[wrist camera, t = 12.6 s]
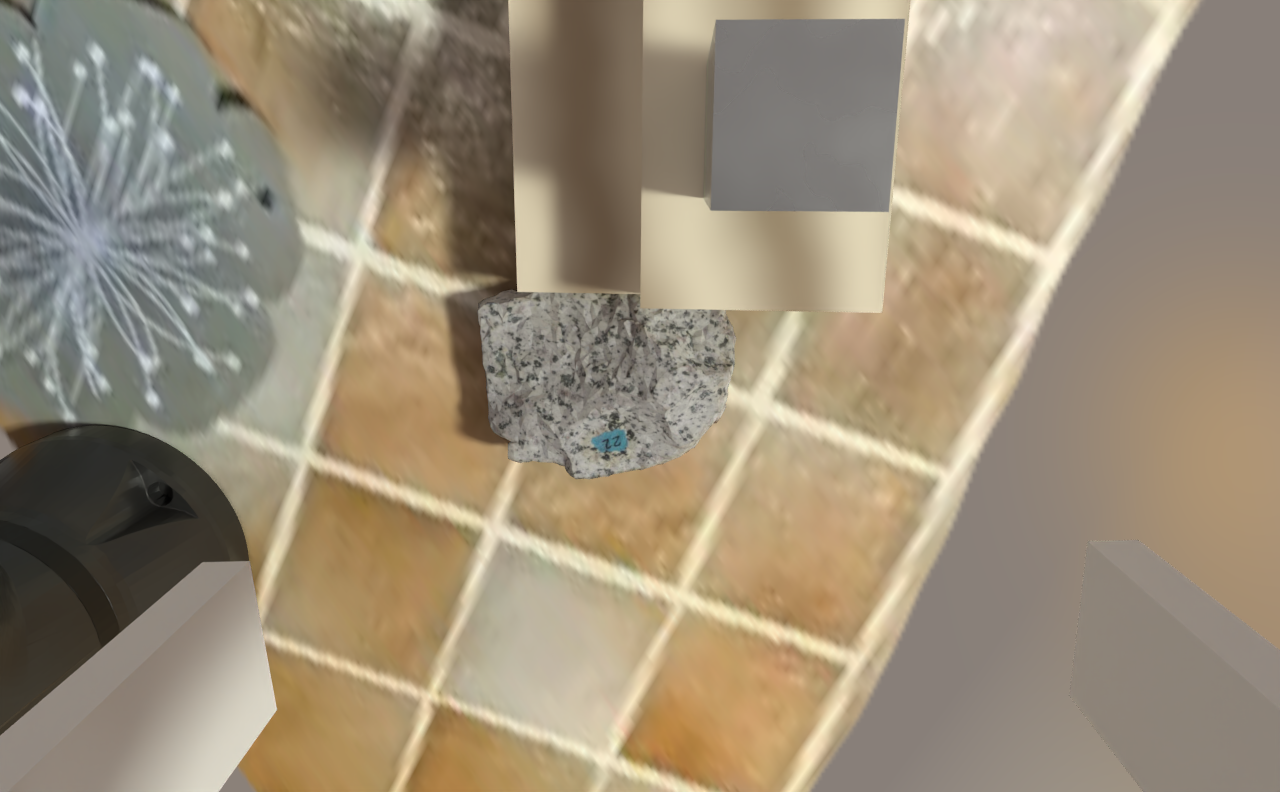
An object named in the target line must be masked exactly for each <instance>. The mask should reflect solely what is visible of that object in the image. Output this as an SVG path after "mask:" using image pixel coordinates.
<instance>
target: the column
mask: <svg viewBox="0 0 1280 792" xmlns="http://www.w3.org/2000/svg"><path fill="white" fill-rule="evenodd" d="M904 26H905V19H754V20H716V21H715V26H714V31H713V36H712V41H711V46H710V50H709V55H708V60H707V65H706V105H705V146H704V187H703V199H704V200H705V202H706V204H707V205H708V207H709V209H710V210H711V211H825V212H889V203H890V191H891V180H892V168H893V156H894V144H895V132H896V121H897V109H898V97H899V85H900V73H901V61H902V50H903V38H904Z"/></svg>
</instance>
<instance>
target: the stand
mask: <svg viewBox="0 0 1280 792" xmlns="http://www.w3.org/2000/svg"><path fill="white" fill-rule="evenodd" d="M508 10H509V42H510V74H511V106H512V138H513V170H514V202H515V234H516V266H517V292H550V293H608V294H640V308H649V309H704V310H759V311H814V312H868V313H882V309H883V298H884V286H885V275H886V264H887V253H888V242H889V231H890V220H891V209H892V198H893V187H894V176H895V165H896V154H897V143H898V132H899V120H900V109H901V98H902V87H903V76H904V65H905V54H906V43H907V32H908V21H909V10H910V0H508ZM754 19H905V26H904V38H903V50H902V61H901V73H900V85H899V97H898V109H897V121H896V132H895V144H894V156H893V168H892V180H891V191H890V203H889V212H825V211H711V210H710V209H709V207H708V205H707V204H706V202H705V200H704V199H703V187H704V146H705V105H706V65H707V60H708V55H709V50H710V46H711V41H712V36H713V31H714V26H715V21H716V20H754Z"/></svg>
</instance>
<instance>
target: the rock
mask: <svg viewBox="0 0 1280 792" xmlns="http://www.w3.org/2000/svg"><path fill="white" fill-rule="evenodd" d="M478 306H479V309H478V321H479V325H480V327H481V330H480V334H481V340H482V353H483V366H484V369H485V374H486V389H487V396H488V408H489V416H488V419H489V422H490V426H491V428H492V430H493V432H494V433H496V434H497V435H499V436H501V437H503V438H505V439H507V440H509V441H511V442H510V443H508V459H510V460H512V461H516V462H519V463H522V462H530V461H537V462H553V463H557V464H559V465H561V466H565V469H566V471H567V472H568V473H569V474H570V475H571V476H572V477H574V478H575V479H593V478H598V477H607V476H610V475H612V474H617V473H623V472H628V471H633V470H642V469H645V468H649V467H652V466H655V465H659V464H664V463H666V462H668V461H670V460H673V459H676V458H678V457H680V456H682V455H683V454H685V453H687V452H688V451H689V450H690V449H692V448H694V447H695V446H696V445H697V443H698V442H699V440H700V439H701V437H702V436H703V435H704V433H706V431H707V430H708V429H709V428H710V427H711V426H712V424H713V423H717V422H718V420H719V419H720V417H721V416H722V414H723V412H724V410H725V408H726V401H727V397H728V386H729V382H730V380H731V377H732V374H733V369H734V365H735V364H734V346H735V341H736V336H735V334H734V330H733V326H732V325H731V323H730V321H729V319H728V317H727V315H726V310H704V309H649V308H640V294H608V293H550V292H517V291H515V290H508V291H503V292H500V293H499V294H498V295H496V296H494V297H489V298H486V299H484V300H483V301H481V302H480V303H478Z"/></svg>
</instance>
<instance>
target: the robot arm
mask: <svg viewBox="0 0 1280 792" xmlns="http://www.w3.org/2000/svg"><path fill="white" fill-rule="evenodd" d="M1069 696H1070V698H1071V699H1072V700H1073V701H1074V703H1075V704H1076V705H1077V707H1078V708H1079V709H1080V710H1081V712H1082V713H1083V714H1084V716H1085V717H1086V718H1087V720H1088V721H1089V722H1090V723H1091V724H1092V726H1093V727H1094V729H1095V730H1096V731H1097V733H1098V734H1099V735H1100V736H1101V738H1102V739H1103V740H1104V741H1105V743H1106V744H1107V745H1108V747H1109V748H1110V749H1111V751H1112V752H1113V753H1114V755H1115V756H1116V757H1117V758H1118V760H1119V761H1120V762H1121V764H1122V765H1123V766H1124V767H1125V769H1126V770H1127V771H1128V773H1129V774H1130V775H1131V777H1132V778H1133V779H1134V780H1135V782H1136V783H1137V784H1138V786H1139V787H1140V788H1141V789H1142V791H1143V792H1280V650H1279V649H1278V648H1276V647H1275V646H1274V645H1273V644H1271V643H1270V642H1269V641H1268V640H1266V639H1265V638H1264V637H1262V636H1261V635H1260V634H1259V633H1257V632H1256V631H1255V630H1253V629H1252V628H1251V627H1250V626H1248V625H1247V624H1246V623H1244V622H1243V621H1242V620H1241V619H1239V618H1238V617H1237V616H1235V615H1234V614H1233V613H1231V612H1230V611H1229V610H1228V609H1226V608H1225V607H1224V606H1223V605H1221V604H1220V603H1219V602H1217V601H1216V600H1215V599H1213V598H1212V597H1211V596H1210V595H1208V594H1207V593H1206V592H1205V591H1203V590H1202V589H1201V588H1200V587H1198V586H1197V585H1196V584H1194V583H1193V582H1191V580H1189V579H1188V578H1186V577H1185V576H1184V575H1183V574H1182V573H1180V572H1179V571H1178V570H1176V569H1175V568H1174V567H1173V566H1171V565H1170V564H1169V563H1167V562H1166V561H1165V560H1163V559H1162V558H1161V557H1160V556H1158V555H1157V554H1156V553H1154V552H1153V551H1152V550H1151V549H1149V548H1148V547H1147V546H1146V545H1144V544H1143V543H1142V542H1140V541H1139V540H1115V541H1114V540H1113V541H1088V542H1087V550H1086V559H1085V567H1084V576H1083V584H1082V593H1081V602H1080V610H1079V618H1078V626H1077V635H1076V643H1075V652H1074V661H1073V669H1072V677H1071V687H1070V695H1069ZM276 710H277V708H276V702H275V697H274V691H273V686H272V680H271V675H270V669H269V664H268V659H267V653H266V648H265V642H264V637H263V631H262V626H261V620H260V615H259V609H258V604H257V599H256V593H255V588H254V582H253V577H252V571H251V566H250V561H249V557H248V550H247V544H246V540H245V536H244V533H243V530H242V527H241V525H240V522H239V520H238V517H237V515H236V513H235V511H234V509H233V508H232V506H231V504H230V502H229V501H228V499H227V498H226V496H225V495H224V493H223V492H222V491H221V489H220V488H219V487H218V485H217V484H216V483H215V482H214V481H213V480H212V479H211V477H210V476H209V475H208V474H207V473H206V472H205V471H204V470H203V469H202V468H200V467H199V466H198V465H197V464H196V463H195V462H193V461H192V460H191V459H189V458H188V457H187V456H185V455H184V454H183V453H181V452H180V451H178V450H176V449H175V448H173V447H171V446H170V445H168V444H166V443H164V442H162V441H160V440H158V439H155V438H153V437H151V436H148V435H145V434H143V433H140V432H136V431H133V430H129V429H124V428H119V427H111V426H81V427H75V428H70V429H66V430H62V431H59V432H56V433H53V434H51V435H49V436H46V437H44V438H41V439H39V440H37V441H34V442H32V443H30V444H27V445H25V446H23V447H21V448H19V449H17V450H15V451H13V452H12V453H10V454H9V455H7V456H6V457H4V458H3V459H1V460H0V792H219V790H220V789H221V788H222V786H223V785H224V783H225V782H226V781H227V779H228V778H229V776H230V775H231V774H232V772H233V771H234V769H235V768H236V767H237V765H238V764H239V762H240V761H241V760H242V758H243V757H244V755H245V754H246V753H247V751H248V750H249V748H250V747H251V745H252V744H253V743H254V741H255V740H256V738H257V737H258V736H259V734H260V733H261V731H262V730H263V729H264V727H265V726H266V724H267V723H268V722H269V720H270V719H271V717H272V716H273V715H274V713H275V712H276Z"/></svg>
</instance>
